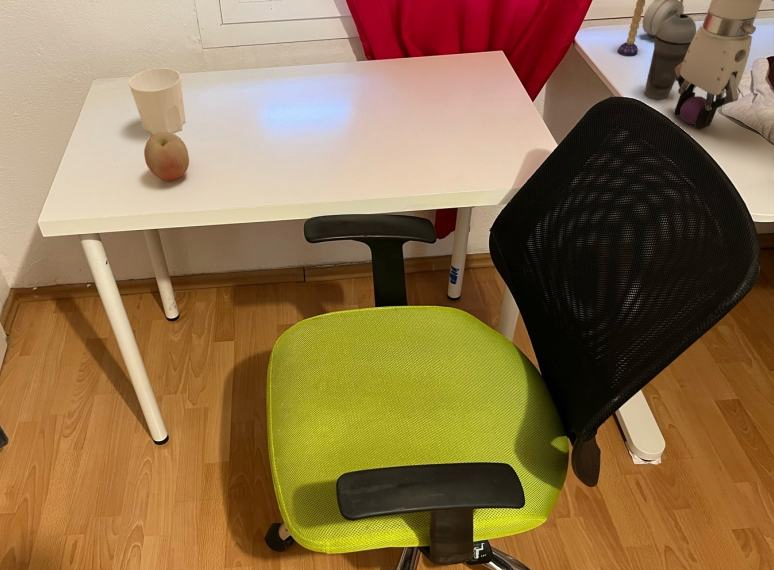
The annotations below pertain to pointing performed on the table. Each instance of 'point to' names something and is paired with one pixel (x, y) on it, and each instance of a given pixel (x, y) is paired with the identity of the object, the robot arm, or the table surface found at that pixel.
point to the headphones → (659, 14)
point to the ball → (692, 109)
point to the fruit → (166, 156)
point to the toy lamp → (632, 32)
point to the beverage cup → (669, 53)
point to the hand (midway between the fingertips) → (691, 119)
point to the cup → (159, 99)
